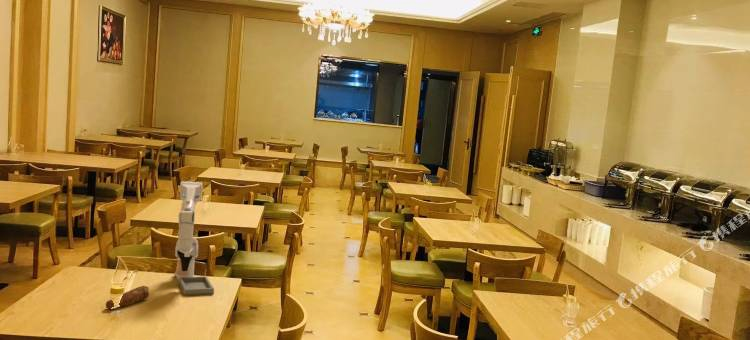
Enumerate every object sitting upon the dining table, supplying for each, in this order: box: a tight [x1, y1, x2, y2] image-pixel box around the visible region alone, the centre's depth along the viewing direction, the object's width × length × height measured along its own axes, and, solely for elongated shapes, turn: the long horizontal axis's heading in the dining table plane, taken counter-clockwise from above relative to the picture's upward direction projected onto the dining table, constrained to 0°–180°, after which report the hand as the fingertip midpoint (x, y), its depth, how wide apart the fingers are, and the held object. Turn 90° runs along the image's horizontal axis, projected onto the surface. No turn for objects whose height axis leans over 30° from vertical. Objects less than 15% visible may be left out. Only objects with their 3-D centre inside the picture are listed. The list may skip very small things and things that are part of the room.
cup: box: [175, 257, 189, 275], centre depth 273 cm, size 5×5×7 cm
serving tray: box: [178, 275, 215, 296], centre depth 277 cm, size 18×12×2 cm, turn 25°
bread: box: [105, 285, 150, 311], centre depth 250 cm, size 6×19×6 cm, turn 154°
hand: (183, 269), depth 274 cm, fingers closed on cup, 5 cm apart
